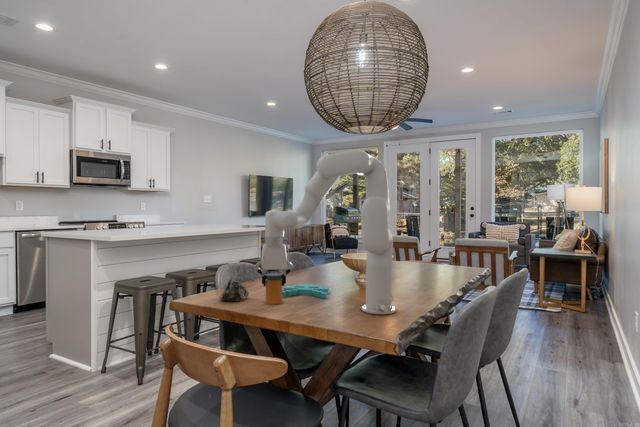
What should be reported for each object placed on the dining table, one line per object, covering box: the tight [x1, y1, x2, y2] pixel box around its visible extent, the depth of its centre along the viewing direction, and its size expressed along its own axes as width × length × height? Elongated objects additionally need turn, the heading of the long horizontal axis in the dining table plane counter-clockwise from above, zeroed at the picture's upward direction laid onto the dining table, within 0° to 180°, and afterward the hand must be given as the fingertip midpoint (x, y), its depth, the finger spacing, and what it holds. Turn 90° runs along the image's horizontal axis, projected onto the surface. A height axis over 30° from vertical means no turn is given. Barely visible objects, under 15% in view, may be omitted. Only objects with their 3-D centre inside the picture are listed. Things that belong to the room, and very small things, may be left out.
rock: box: [219, 278, 250, 302], centre depth 169 cm, size 13×10×10 cm
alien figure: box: [282, 283, 330, 300], centre depth 184 cm, size 20×2×20 cm
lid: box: [265, 272, 283, 280], centre depth 165 cm, size 7×7×2 cm
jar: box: [265, 279, 283, 305], centre depth 165 cm, size 7×7×10 cm
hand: (273, 285), depth 165 cm, fingers closed on lid, 6 cm apart
